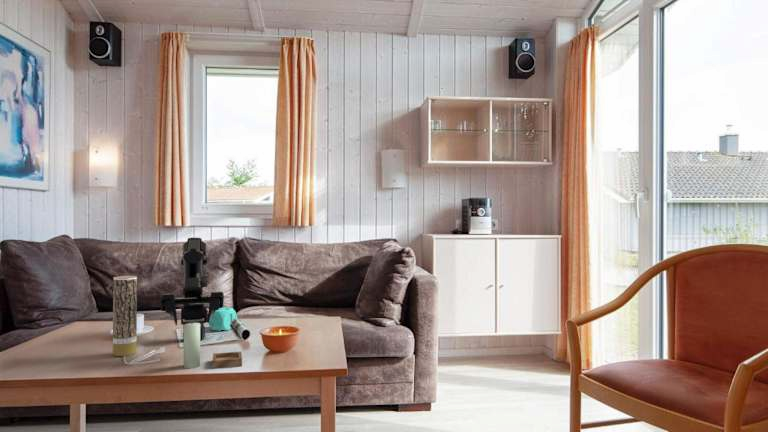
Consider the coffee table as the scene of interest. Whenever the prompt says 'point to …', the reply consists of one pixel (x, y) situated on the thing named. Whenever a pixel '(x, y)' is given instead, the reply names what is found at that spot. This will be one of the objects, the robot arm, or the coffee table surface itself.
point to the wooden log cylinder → (124, 315)
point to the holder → (227, 359)
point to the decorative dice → (222, 319)
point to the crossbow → (145, 357)
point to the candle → (191, 345)
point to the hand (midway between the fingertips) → (192, 323)
